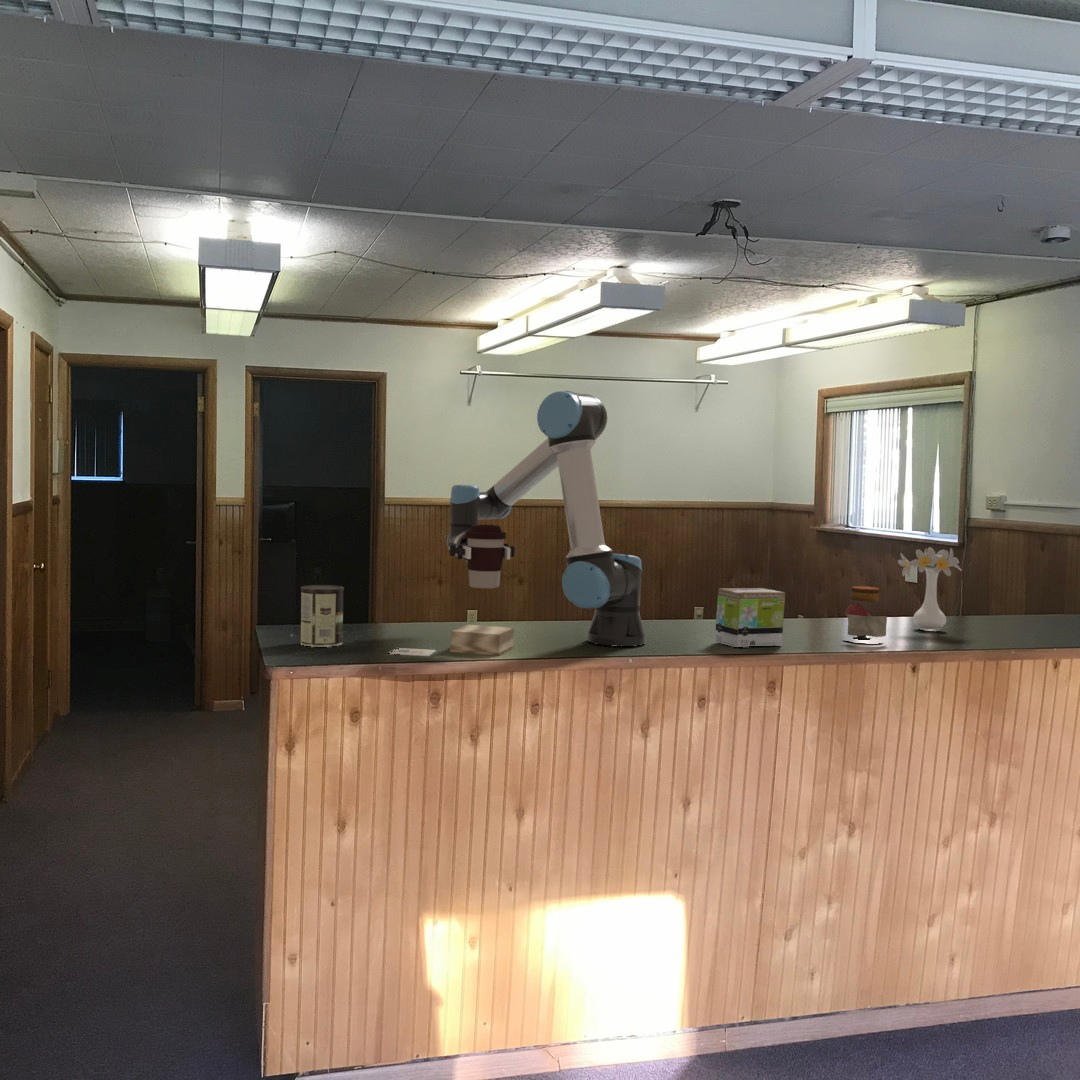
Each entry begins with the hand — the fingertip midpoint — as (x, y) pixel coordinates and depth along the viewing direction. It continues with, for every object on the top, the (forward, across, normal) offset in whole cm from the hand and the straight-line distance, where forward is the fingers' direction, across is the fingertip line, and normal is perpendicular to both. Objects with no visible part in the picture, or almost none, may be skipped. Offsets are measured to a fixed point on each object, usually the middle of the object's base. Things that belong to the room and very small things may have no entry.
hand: (489, 553), depth 257 cm
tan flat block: (-5, 0, -24) cm, 24 cm away
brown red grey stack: (-11, -108, -24) cm, 111 cm away
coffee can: (-15, +38, -24) cm, 47 cm away
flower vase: (-29, -141, -24) cm, 146 cm away
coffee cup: (-5, 0, -9) cm, 10 cm away
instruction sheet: (-2, +18, -24) cm, 30 cm away
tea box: (-8, -72, -24) cm, 77 cm away
